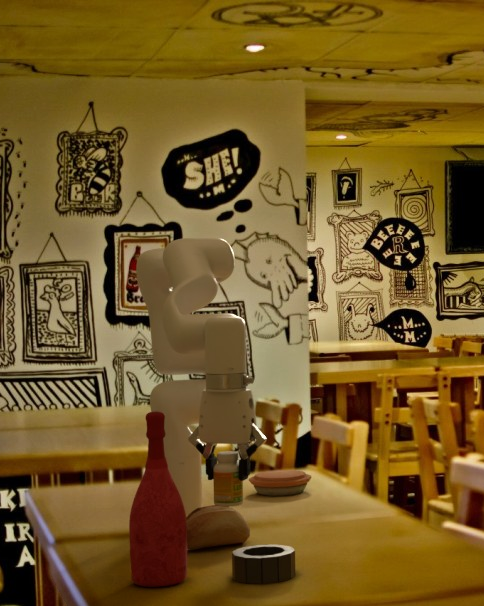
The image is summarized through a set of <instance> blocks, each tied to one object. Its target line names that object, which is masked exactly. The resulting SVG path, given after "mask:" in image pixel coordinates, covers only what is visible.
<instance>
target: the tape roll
mask: <svg viewBox="0 0 484 606" xmlns="http://www.w3.org/2000/svg"><path fill="white" fill-rule="evenodd" d="M231 567H232V568H231V571H232V572H231V573H232V574H231V575H232V577H231V578H232V579H233V580H234V581H235V582H238V583H243V584H248V585H249V584H250V585H252V584H253V585H255V584H256V585H262V584H265V585H266V584H275V583H280V582H281V583H282V582H285V581H288V580H291V579H292V578H294V577H295V576H296V550H295V549H294V548H293V547H292V546H289V545H283V544H257V545H255V544H254V545H248V546H244V547H240V548H236V549H235V550H233V551H231Z"/></svg>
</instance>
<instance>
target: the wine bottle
mask: <svg viewBox="0 0 484 606" xmlns="http://www.w3.org/2000/svg"><path fill="white" fill-rule="evenodd" d="M164 422H165V415H164V413H163V412H160V411H153V412H151V411H149V412H147V413H146V414H145V423H146V432H145V436H146V438H147V440H148V441H147V442H148V444H147V457H146V461H145V466H144V472H143V474H142V477H141V480H140V482H139V484H138V487H137V489H136V492H135V494H134V497H133V500H132V503H131V508H130V511H129V512H130V513H129V522H128V524H129V525H128V529H129V530H128V531H129V533H128V535H129V537H128V538H129V560H130V573H131V580H132V582H133V583H134V584H135V585H137V586H140V587H144V588H161V587H163V588H164V587H168V586H175V585H177V584H180V583H182V582H183V581H185V579H186V578H187V575H188V549H187V522H186V513H185V508H184V505H183V502H182V499H181V496H180V494H179V491H178V489H177V487H176V485H175V483H174V481H173V479H172V476H171V474H170V472H169V470H168V464H167V460H166V458H165V452H164V437H165V435H166V432H165V429H164Z"/></svg>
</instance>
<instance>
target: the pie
mask: <svg viewBox="0 0 484 606" xmlns="http://www.w3.org/2000/svg"><path fill="white" fill-rule="evenodd" d="M311 479H312V475H310V474H308V473H306V471H303V470H298V469H297V470H295V469H278V470H277V469H275V470H267V471H261V472H257V473H255V474H254V476H251V477H248V482H249V483H250V484H251V485H252V486H253V488H254V490H255V491H256V493H257V494H259V495H261V496H266V497H267V496H269V497H283V496H285V497H286V496H293V495H298V494H301V493H303V492H304V491H305V489H306V487H307V485H308V483H309V482H310V481H311Z"/></svg>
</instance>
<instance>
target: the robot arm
mask: <svg viewBox="0 0 484 606" xmlns="http://www.w3.org/2000/svg"><path fill="white" fill-rule="evenodd" d="M235 264H236V259H235V253H234V250H233V248H232V246H231V245H230V243H229V242H228V241H227V240H225V239H224V238H219V237H210V238H209V237H193V238H192V237H185V238H178V239H175V240H172V241H170V242H169V243H168V244H167V245H166V246H165V247H161V248H151V249H148V250H145V251H143V252H142V253H141V254H140V255H139V256H138V258H137V261H136V266H135V268H136V269H135V272H136V281H137V285H138V288H139V292H140V294H141V297H142V299H143V302H144V304H145V306H146V308H147V312H148V318H149V328H150V339H151V351H152V352H151V353H152V359H153V365H154V366H155V369H156V371H157V372H158V373H159V374H162V375H167V376H180V375H181V376H182V375H200V374H201V375H202V374H203V375H204V376H205V378H200V379H199V378H197V379H173V380H167V381H162V382H160V383H158V384H156V385H155V386H154V387H152V389H151V392H150V395H149V407H150V412H153V411H160V412H163V413H164V415H165V422H164V429H165V432H166V435H165V437H164V452H165V458H166V460H167V464H168V470H169V472H170V474H171V476H172V479H173V481H174V483H175V485H176V487H177V489H178V491H179V494H180V496H181V499H182V502H183V505H184V508H185V513H186V517H187V516H188V515H189V514H190V513H191V512H192V511H193V510H195V509H197V508H200V507H204V506H203V505H204V504H203V472H202V470H203V469H202V458H203V459H204V460H205V461H204V462H205V475H206V476H207V480H208V481H212V480H213V468H214V466H215V465H216V464H218V461H217V455H216V454H215V453H216V449H217V446H218V445H237V447H238V451H239V454H240V459H238V463H239V480H240V481H243V482H244V481H246V480H249V476H250V475H251V458H252V456H253V455H254V454H255V453H256V452H257V451H258V450H259V449H260V448H262V446H263V445H264V444H265V443H266V442H267V441H268V439H267V437H266V436H265V435H264V433H263V432H262V431H261V430H260V429H259V427H257V415H256V407H255V401H254V396H253V392H252V389H251V388H248V386H249V385H251V384H252V385H253V384H254V383H255V377H254V376H250V375H248V372H247V332H246V329H247V328H246V321H245V319H244V318H242V317H241V316H237V315H236V314H234V313H195V312H197V311H199V310H201V309H203V308H205V307H206V306H208V305H209V304H211V303H212V302H213V301H214V300H215V299H216V296H217V294H218V289H219V287H218V285H219V284H220V283H221V284H222V282H224V281H226V280H227V279H229V278H230V277H231V276H232V275H233V273H234V270H235ZM191 425H197V427H196V428H195V429H194V430H193V432H192V430H191V429H190V427H189V426H191ZM253 440H255V441H254V442H253V443H252V444H251V445H250V443H249V442H250V441H251V442H252V441H253Z"/></svg>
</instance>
